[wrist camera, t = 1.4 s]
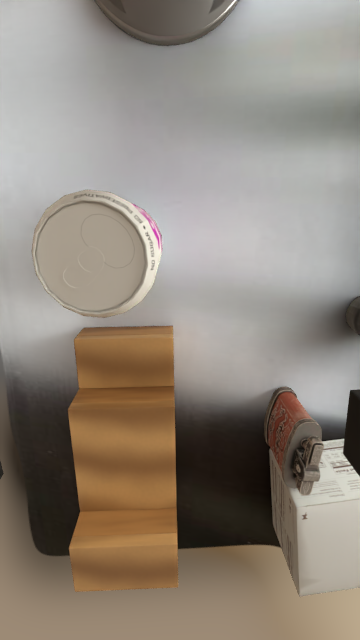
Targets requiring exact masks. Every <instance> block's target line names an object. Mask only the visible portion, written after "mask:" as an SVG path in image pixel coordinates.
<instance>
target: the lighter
mask: <svg viewBox="0 0 360 640" xmlns="http://www.w3.org/2000/svg"><path fill="white" fill-rule="evenodd" d="M264 438H265V440H266V443H267V444H268V445H269V446H270V448H271V450H272V452H273V454H274V456H275V459H276V461H277V463H278V465H279V467H280V470H281V472H282V478H283V480H284V483H285V484H286V485H287V486H288V487H290V488H294V489H297V488H298V490H299V493H300V494H301V495H310V494H311V492H312V488H313V485H314V482H318V481H319V480H320V470H319V463H320V460H321V456H322V452H323V449H324V444H323V442H322V441H321V438H322V430H321V427H320V426H319V425H318V423H317V422H316V421H315V420H313V419H312V418H311V417H310V416H309V414H308V413H307V412H306V410H305V409H304V408H303V406H302V405H301V403H300V402H299V401H298V399H297V396H296V394H295V393H294V391H293V390H292V389H291V388H289V387H280V388H278V389H276V390H275V391H274V393H273V395H272V398H271V400H270V402H269V405H268V408H267V412H266V416H265V423H264Z"/></svg>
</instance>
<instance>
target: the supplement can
mask: <svg viewBox="0 0 360 640" xmlns="http://www.w3.org/2000/svg"><path fill="white" fill-rule="evenodd" d="M162 250H163V247H162V235H161V233H160V231H159V228H158V226H157V224H156V222H155V221H154V220H153V219H152V217H151V216H150V215H149V214H148V213H147V212H146V211H145V210H143V209H141V208H139V207H137V206H136V205H134V204H132V203H130V202H128V201H126V200H124V199H122V198H120V197H118V196H116V195H114V194H112V193H110V192H104V191H95V190H83V191H79V192H76V193H72V194H68V195H65V196H63V197H62V198H60V199H59V200H58V201H56V202H55V203H54V204H53V205H51V206H50V207H49V208H47V209H46V211H45V212H44V214H43V216H42V217H41V219H40V221H39V223H38V224H37V226H36V228H35V232H34V238H33V244H32V257H33V262H34V267H35V272H36V275H37V277H38V278H39V280H40V282H41V284H42V285H43V287H44V289H45V290H46V292H47V293H48V294H49V295H51V296H52V297H53V298H54V299H55V300H56V301H57V302H58V303H60V304H61V305H62V306H63V307H65V308H67V309H69V310H71V311H74V312H76V313H78V314H81V315H83V316H91V317H102V318H106V317H110V316H113V315H117V314H121V313H125V312H126V311H128V310H129V309H131V308H132V307H134V306H135V305H137V304H138V303H140V302H141V301H142V300H143V299H144V297H145V296H146V294H147V293H148V291H149V290H150V289H151V287H152V286H153V284H154V281H155V277H156V273H157V270H158V266H159V262H160V258H161V254H162Z"/></svg>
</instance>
